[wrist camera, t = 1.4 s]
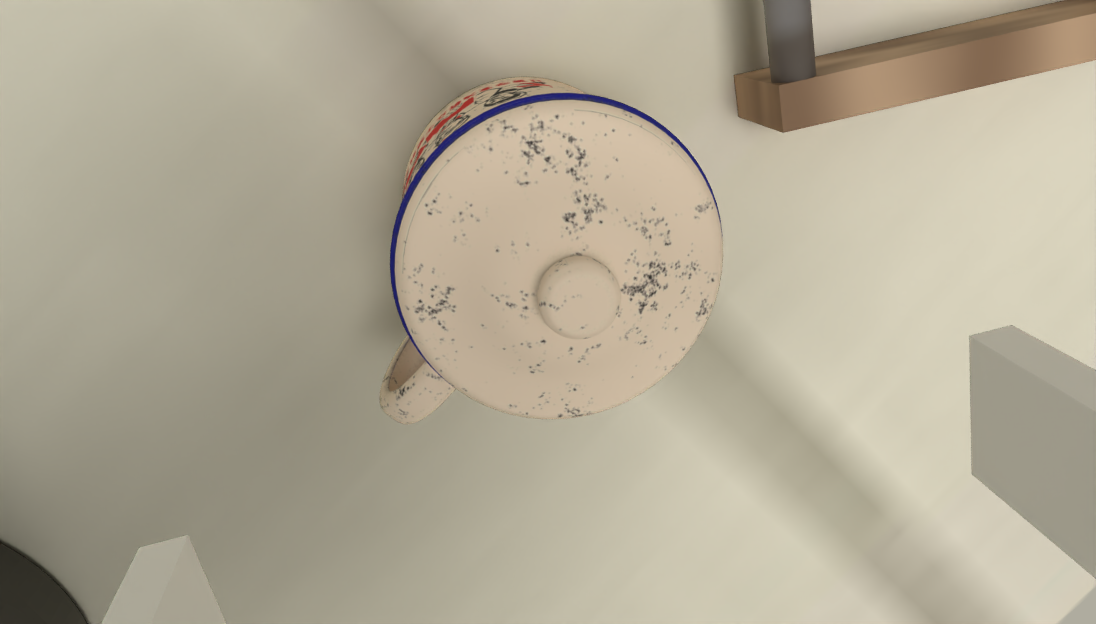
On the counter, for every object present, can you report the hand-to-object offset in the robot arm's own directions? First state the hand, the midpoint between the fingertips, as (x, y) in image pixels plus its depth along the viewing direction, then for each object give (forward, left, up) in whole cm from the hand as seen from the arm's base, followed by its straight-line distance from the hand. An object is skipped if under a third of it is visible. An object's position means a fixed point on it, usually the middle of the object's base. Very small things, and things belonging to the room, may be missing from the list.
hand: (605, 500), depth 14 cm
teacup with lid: (0, 0, -18) cm, 19 cm away
